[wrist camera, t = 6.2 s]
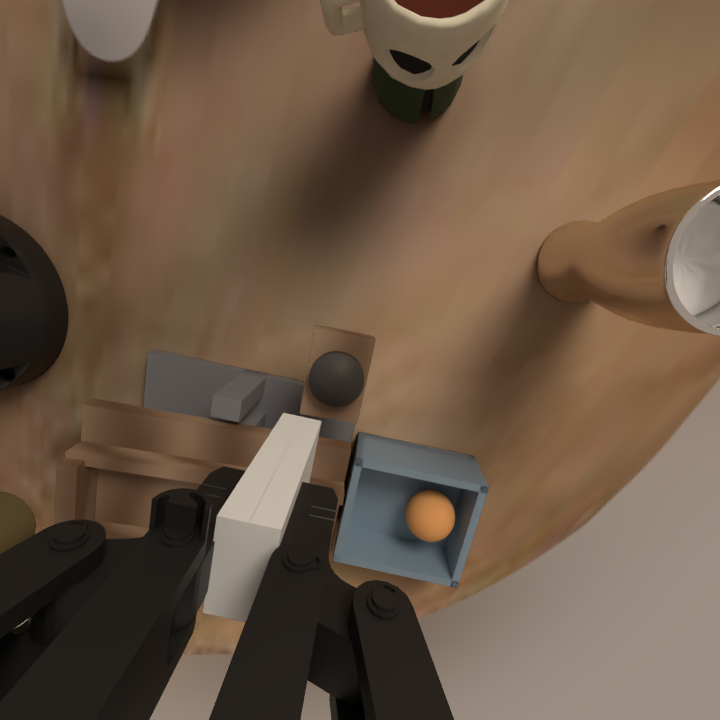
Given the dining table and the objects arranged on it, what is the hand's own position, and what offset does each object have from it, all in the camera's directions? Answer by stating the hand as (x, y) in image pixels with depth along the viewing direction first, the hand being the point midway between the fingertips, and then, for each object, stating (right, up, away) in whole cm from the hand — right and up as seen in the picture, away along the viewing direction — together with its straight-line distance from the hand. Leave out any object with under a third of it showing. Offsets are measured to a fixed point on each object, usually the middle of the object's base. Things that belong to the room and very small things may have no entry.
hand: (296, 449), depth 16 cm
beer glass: (+19, +11, +16) cm, 27 cm away
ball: (+8, -9, +18) cm, 21 cm away
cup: (+6, -8, +20) cm, 23 cm away
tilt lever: (-7, -2, +15) cm, 17 cm away
